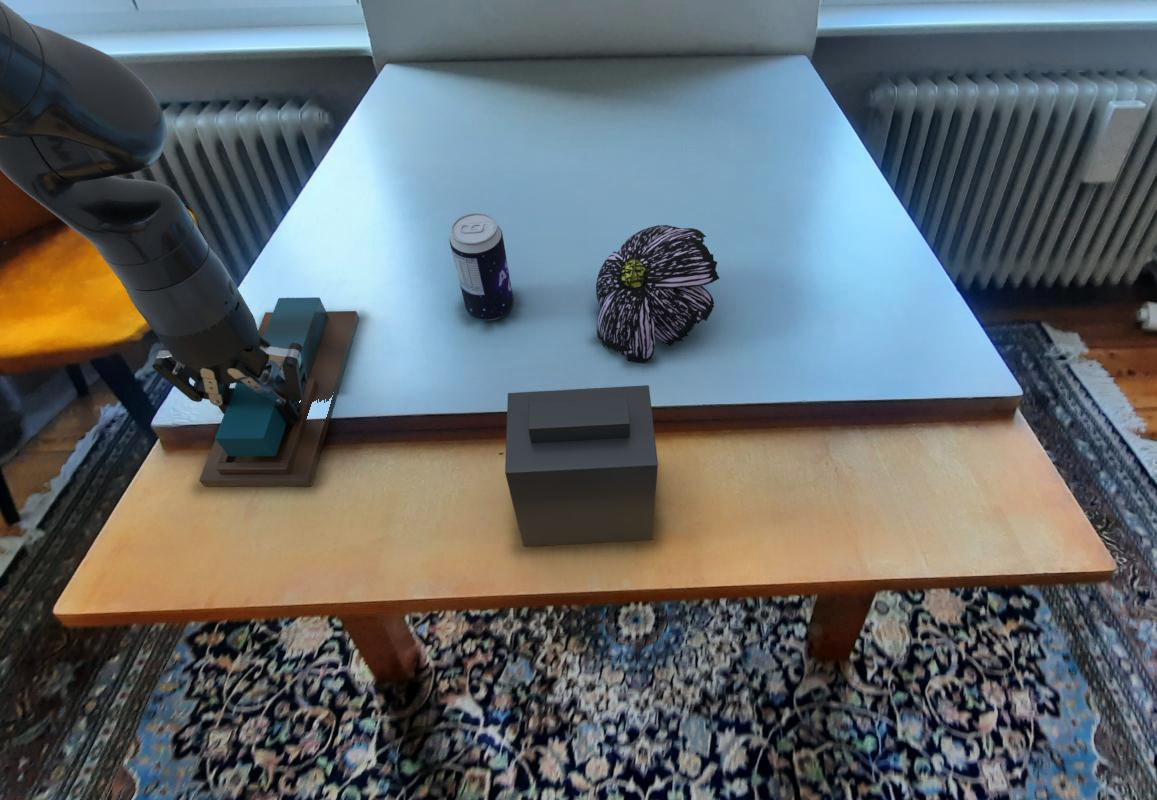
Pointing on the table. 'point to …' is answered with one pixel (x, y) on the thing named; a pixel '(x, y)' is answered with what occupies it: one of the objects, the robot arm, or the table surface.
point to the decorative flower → (654, 290)
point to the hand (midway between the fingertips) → (268, 417)
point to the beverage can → (481, 266)
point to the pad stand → (582, 465)
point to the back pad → (250, 424)
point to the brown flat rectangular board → (325, 364)
